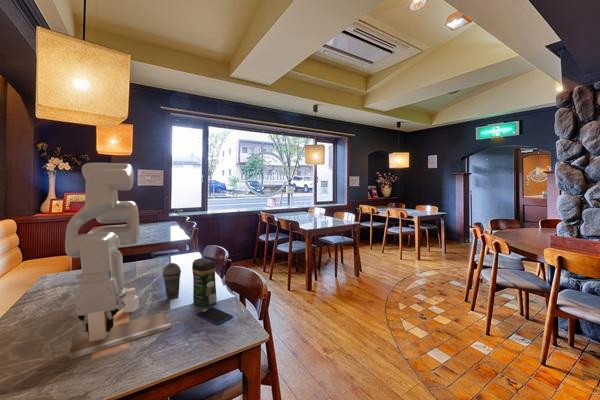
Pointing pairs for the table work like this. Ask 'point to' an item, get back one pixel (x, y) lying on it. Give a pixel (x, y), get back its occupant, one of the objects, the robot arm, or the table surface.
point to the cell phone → (214, 315)
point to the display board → (119, 334)
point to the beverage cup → (172, 280)
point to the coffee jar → (204, 282)
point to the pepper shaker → (131, 300)
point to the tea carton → (97, 325)
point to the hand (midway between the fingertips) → (100, 330)
